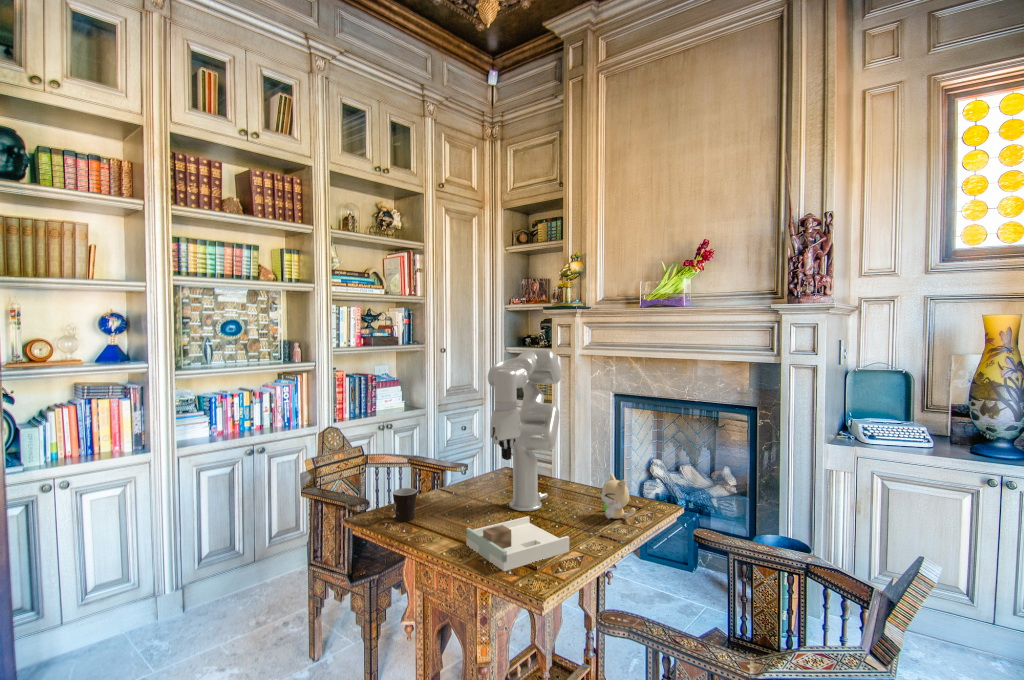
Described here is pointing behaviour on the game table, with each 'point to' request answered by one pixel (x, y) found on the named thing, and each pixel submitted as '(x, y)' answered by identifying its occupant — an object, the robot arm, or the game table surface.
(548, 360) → the robot arm
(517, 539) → the board
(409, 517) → the coffee mug
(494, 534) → the walnut block
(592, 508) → the game table surface
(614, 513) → the kitten
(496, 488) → the game table surface
